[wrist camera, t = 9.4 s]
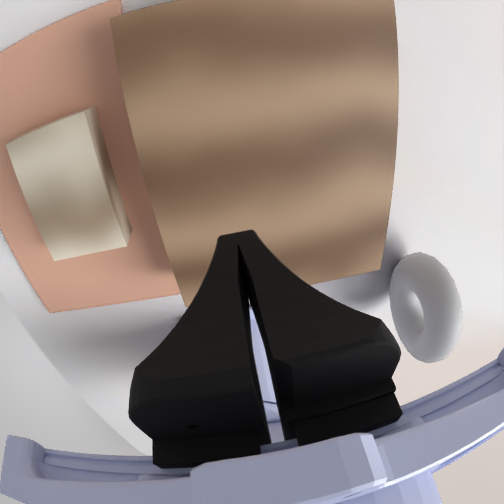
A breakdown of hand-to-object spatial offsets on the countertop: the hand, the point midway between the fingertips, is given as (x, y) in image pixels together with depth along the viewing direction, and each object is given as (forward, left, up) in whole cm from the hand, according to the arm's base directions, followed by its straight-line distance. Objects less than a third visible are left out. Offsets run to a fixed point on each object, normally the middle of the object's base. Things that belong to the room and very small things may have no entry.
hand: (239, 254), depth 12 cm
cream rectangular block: (+2, +10, -7) cm, 12 cm away
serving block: (+1, -3, -9) cm, 10 cm away
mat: (+1, +11, -9) cm, 15 cm away
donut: (-13, -15, -10) cm, 22 cm away
